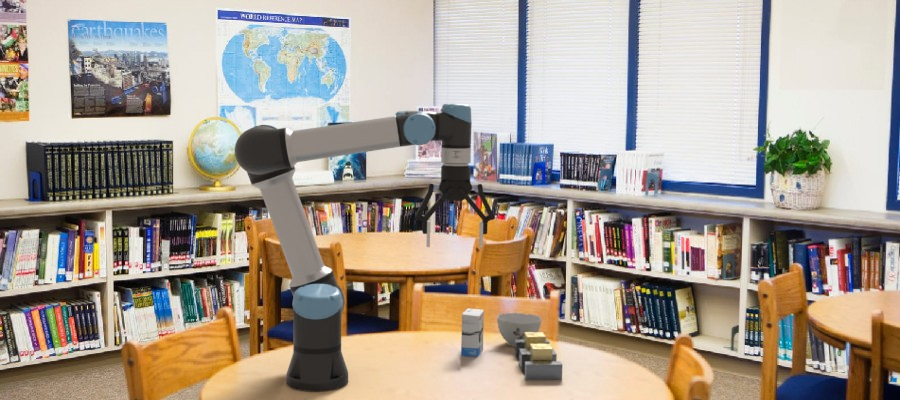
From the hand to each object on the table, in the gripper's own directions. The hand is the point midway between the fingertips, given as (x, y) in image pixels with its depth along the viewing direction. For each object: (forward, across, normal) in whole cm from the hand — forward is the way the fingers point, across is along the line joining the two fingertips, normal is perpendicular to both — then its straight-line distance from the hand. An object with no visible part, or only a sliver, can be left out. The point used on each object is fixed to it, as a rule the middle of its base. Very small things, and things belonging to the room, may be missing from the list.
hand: (454, 246), depth 255 cm
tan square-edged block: (+31, +22, +4) cm, 38 cm away
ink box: (+32, +6, +12) cm, 35 cm away
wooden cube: (+31, +22, -8) cm, 39 cm away
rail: (+31, +22, -2) cm, 38 cm away
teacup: (+32, +20, +23) cm, 44 cm away
